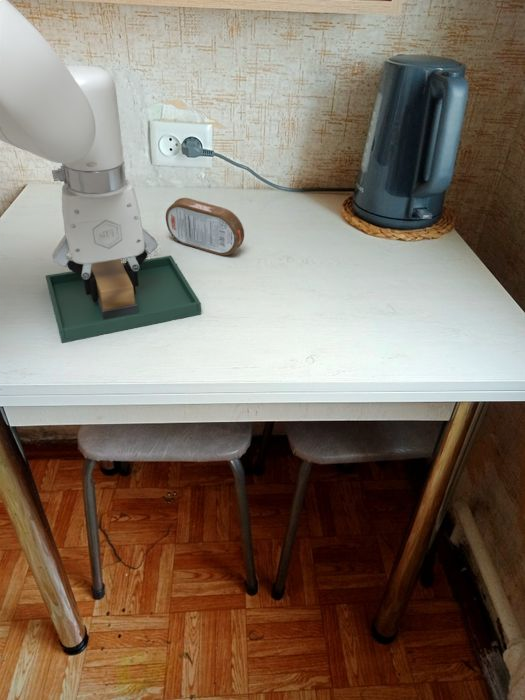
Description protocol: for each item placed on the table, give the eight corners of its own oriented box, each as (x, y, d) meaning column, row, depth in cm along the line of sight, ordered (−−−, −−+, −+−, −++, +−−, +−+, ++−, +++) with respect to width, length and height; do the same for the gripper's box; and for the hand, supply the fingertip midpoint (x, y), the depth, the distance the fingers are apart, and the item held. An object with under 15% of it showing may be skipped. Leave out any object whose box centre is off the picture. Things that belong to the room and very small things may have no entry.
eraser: (103, 320, 74) (99, 292, 71) (90, 284, 81) (86, 258, 78) (138, 313, 76) (134, 286, 73) (122, 279, 82) (119, 253, 79)
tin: (244, 255, 92) (246, 211, 87) (236, 262, 90) (237, 218, 85) (173, 234, 97) (171, 191, 91) (164, 241, 94) (161, 197, 89)
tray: (61, 343, 70) (59, 331, 69) (48, 286, 80) (45, 275, 79) (201, 314, 77) (200, 303, 76) (171, 266, 88) (171, 255, 86)
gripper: (28, 194, 60) (57, 318, 72) (167, 179, 66) (174, 296, 78) (22, 171, 65) (50, 291, 77) (152, 160, 72) (160, 272, 83)
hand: (112, 292), depth 77 cm, fingers closed on eraser, 5 cm apart
